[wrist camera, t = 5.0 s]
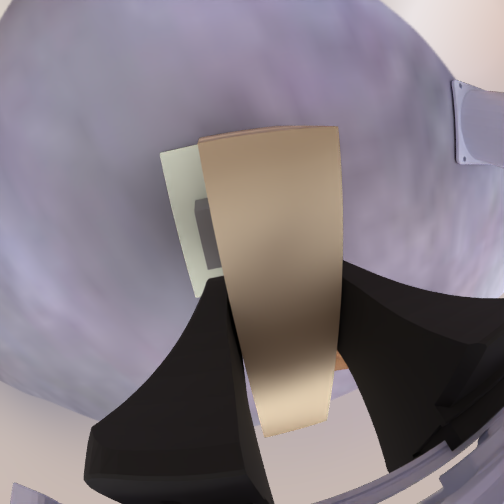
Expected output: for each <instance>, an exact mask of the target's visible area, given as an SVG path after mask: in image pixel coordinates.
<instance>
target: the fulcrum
mask: <svg viewBox="0 0 504 504" xmlns="http://www.w3.org/2000/svg"><path fill="white" fill-rule="evenodd" d="M160 158H161V163H162V167H163V172H164V177H165V181H166V186H167V190H168V195H169V199H170V203H171V208H172V212H173V216H174V220H175V224H176V228H177V232H178V236H179V240H180V244H181V247H182V251H183V255H184V258H185V262H186V266H187V269H188V273H189V276H190V280H191V283H192V287H193V290H194V293H195V297H196V298H197V297H201V295H202V293H203V290H204V287H205V284H206V282H207V280H208V279H209V278H214V277H219V276H224V274H223V270H222V265H221V261H220V256H219V251H218V247H217V242H216V237H215V232H214V227H213V223H212V218H211V213H210V208H209V203H208V197H207V192H206V187H205V182H204V177H203V171H202V166H201V160H200V155H199V149H198V144H197V145H192V146H188V147H183V148H179V149H174V150H170V151H166V152H162V153H160Z"/></svg>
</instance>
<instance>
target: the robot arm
mask: <svg viewBox="0 0 504 504" xmlns="http://www.w3.org/2000/svg"><path fill="white" fill-rule="evenodd" d="M452 90H453V98H454V109H455V124H456V161H457V163H458V164H492V165H495V166H498V167H501V168H504V92H493V91H485V90H482V89H480V88H478V87H475V86H472V85H470V84H467V83H464V82H461V81H458V80H453V81H452ZM337 350H338V352H339V354H340V355H341V357H342V358H343V360H344V362H345V363H346V365H347V366H348V368H349V370H350V372H351V374H352V375H353V377H354V380H355V382H356V384H357V386H358V388H359V391H360V393H361V395H362V397H363V400H364V402H365V405H366V407H367V410H368V412H369V414H370V417H371V419H372V422H373V425H374V428H375V431H376V433H377V436H378V439H379V443H380V446H381V449H382V452H383V456H384V459H385V463H386V467H387V469H388V472H389V474H387V475H385V476H383V477H381V478H379V479H377V480H374V481H372V482H370V483H368V484H365V485H363V486H361V487H358V488H356V489H353V490H351V491H348V492H346V493H343V494H340V495H337V496H335V497H332V498H329V499H326V500H323V501H319V502H316V503H313V504H377V503H379V502H381V501H383V500H385V499H387V498H389V497H391V496H393V495H395V494H397V493H399V492H400V491H403V490H405V489H406V488H408V487H410V486H411V485H413V484H415V483H417V482H418V481H420V480H422V479H423V478H425V477H426V476H428V475H430V474H431V473H432V472H434V471H436V470H437V469H439V468H440V467H442V466H443V465H444V464H446V463H447V462H449V461H450V460H451V459H453V458H454V457H455V456H457V455H458V454H459V453H461V452H462V451H463V450H465V449H466V448H467V447H468V446H470V445H471V444H472V443H473V442H474V441H475V440H477V439H478V438H479V439H478V445H477V448H476V449H475V450H473V451H472V452H471V453H470V454H469V455H467V456H466V457H465V458H464V459H463V460H461V461H460V462H459V463H458V464H456V465H455V466H453V467H452V468H451V469H449V470H448V471H447V472H445V473H444V474H442V475H441V476H440V478H439V480H440V482H441V483H442V485H443V488H441V489H440V490H438V491H437V492H435V493H434V494H432V495H430V496H429V497H427V498H426V499H424V500H423V501H421V502H419V503H417V504H504V298H472V297H461V296H454V295H447V294H442V293H437V292H432V291H427V290H423V289H419V288H416V287H412V286H409V285H405V284H402V283H399V282H396V281H393V280H390V279H388V278H385V277H382V276H380V275H377V274H374V273H372V272H370V271H367V270H365V269H362V268H360V267H358V266H355V265H353V264H351V263H348V262H346V261H344V260H343V264H342V289H341V307H340V320H339V332H338V343H337ZM84 481H85V482H86V483H87V485H89V487H90V488H92V489H94V490H95V491H97V492H98V493H100V494H102V495H104V496H106V497H108V498H111V499H113V500H115V501H117V502H119V503H121V504H274V501H273V497H272V494H271V490H270V487H269V483H268V480H267V476H266V473H265V469H264V465H263V461H262V458H261V454H260V450H259V446H258V442H257V438H256V434H255V430H254V426H253V422H252V417H251V413H250V409H249V404H248V398H247V391H246V383H245V374H244V365H243V356H242V351H241V347H240V343H239V339H238V335H237V331H236V326H235V322H234V318H233V314H232V309H231V305H230V301H229V297H228V292H227V288H226V283H225V279H224V276H219V277H214V278H209V279H208V280H207V282H206V284H205V287H204V290H203V293H202V295H201V298H200V300H199V302H198V304H197V307H196V309H195V311H194V313H193V315H192V317H191V319H190V321H189V323H188V324H187V326H186V328H185V330H184V331H183V333H182V335H181V337H180V338H179V340H178V341H177V343H176V344H175V346H174V347H173V349H172V350H171V352H170V353H169V354H168V356H167V357H166V358H165V360H164V361H163V362H162V363H161V365H160V366H159V367H158V368H157V369H156V370H155V372H154V373H153V374H152V375H151V376H150V378H149V379H148V380H147V381H146V382H145V383H144V384H143V385H142V386H141V387H140V388H139V389H138V390H137V391H136V392H135V393H134V394H132V395H131V396H130V397H129V398H128V399H127V400H126V401H125V402H124V403H122V404H121V405H120V406H119V407H118V408H116V409H115V410H114V411H113V412H111V413H110V414H109V415H107V416H106V417H105V418H104V419H102V420H101V421H100V422H98V423H97V424H96V425H94V426H93V427H92V428H91V432H90V436H89V440H88V446H87V452H86V460H85V469H84ZM10 504H61V503H58V502H57V501H56V500H54V499H52V498H50V497H48V496H46V495H44V494H41V493H39V492H37V491H35V490H32V489H30V488H27V487H25V486H22V485H20V484H18V483H13V487H12V494H11V501H10Z"/></svg>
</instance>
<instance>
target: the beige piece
mask: <svg viewBox="0 0 504 504" xmlns="http://www.w3.org/2000/svg"><path fill="white" fill-rule="evenodd" d="M197 144H198V149H199V155H200V160H201V166H202V171H203V177H204V182H205V187H206V192H207V197H208V203H209V208H210V213H211V218H212V223H213V227H214V232H215V237H216V242H217V247H218V251H219V256H220V261H221V265H222V270H223V274H224V279H225V283H226V288H227V292H228V297H229V301H230V305H231V309H232V314H233V318H234V322H235V326H236V331H237V335H238V339H239V343H240V347H241V351H242V355H243V359H244V363H245V367H246V371H247V375H248V378H249V382H250V386H251V390H252V394H253V397H254V401H255V405H256V409H257V412H258V416H259V420H260V423H261V427H262V430H263V434H264V437H270V436H274V435H278V434H282V433H286V432H290V431H294V430H297V429H301V428H304V427H308V426H311V425H314V424H317V423H321V422H323V421H326V420H327V416H328V410H329V404H330V398H331V392H332V385H333V377H334V370H335V361H336V352H337V343H338V332H339V320H340V307H341V289H342V264H343V199H342V174H341V157H340V144H339V132H338V126H273V127H264V128H256V129H249V130H242V131H235V132H229V133H223V134H217V135H211V136H206V137H201V138H199V140H198V143H197Z"/></svg>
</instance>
